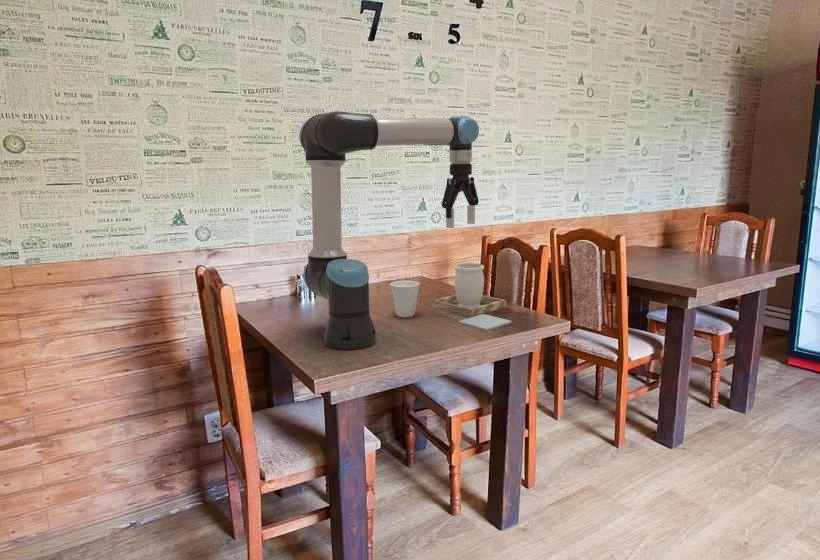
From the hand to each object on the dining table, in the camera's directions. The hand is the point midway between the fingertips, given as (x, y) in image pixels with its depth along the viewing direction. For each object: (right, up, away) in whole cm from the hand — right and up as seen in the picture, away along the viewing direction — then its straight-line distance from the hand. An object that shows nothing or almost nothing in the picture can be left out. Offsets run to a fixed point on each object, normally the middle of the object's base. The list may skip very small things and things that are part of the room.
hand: (460, 225), depth 192 cm
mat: (+6, -33, -15) cm, 37 cm away
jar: (+3, -29, +4) cm, 29 cm away
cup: (-19, -31, -5) cm, 37 cm away
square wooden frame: (+3, -28, +4) cm, 29 cm away
